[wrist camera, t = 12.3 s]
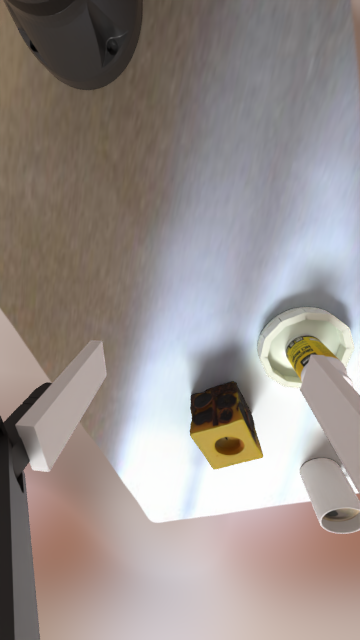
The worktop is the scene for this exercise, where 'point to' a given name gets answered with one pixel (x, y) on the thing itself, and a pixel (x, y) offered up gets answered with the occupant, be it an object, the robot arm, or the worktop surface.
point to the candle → (224, 426)
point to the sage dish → (296, 324)
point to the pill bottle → (306, 346)
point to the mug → (331, 496)
